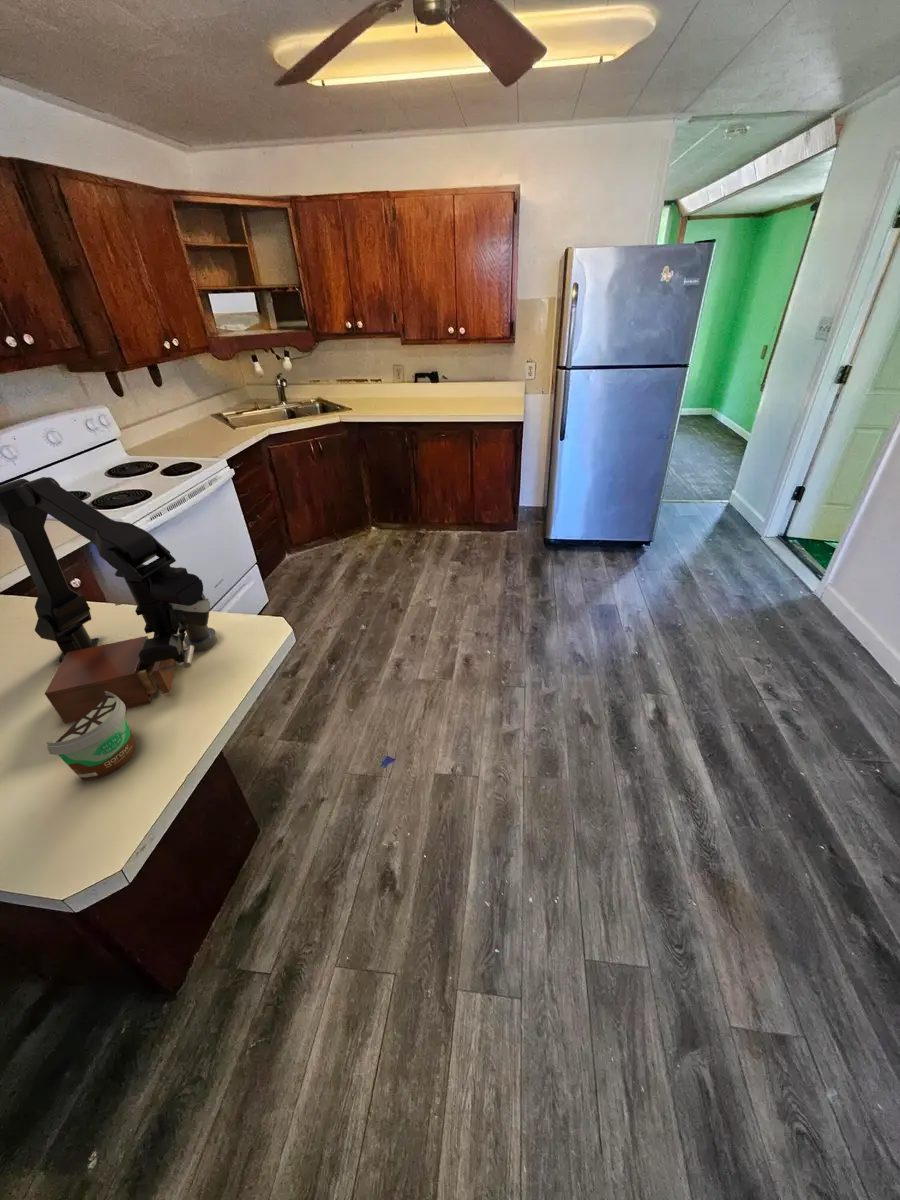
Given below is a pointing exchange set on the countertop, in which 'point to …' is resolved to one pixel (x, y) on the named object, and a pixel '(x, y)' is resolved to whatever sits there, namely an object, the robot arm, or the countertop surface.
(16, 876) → the countertop surface
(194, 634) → the pepper mill
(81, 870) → the countertop surface
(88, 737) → the food container
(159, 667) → the drawer
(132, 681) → the cabinet
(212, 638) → the disc
